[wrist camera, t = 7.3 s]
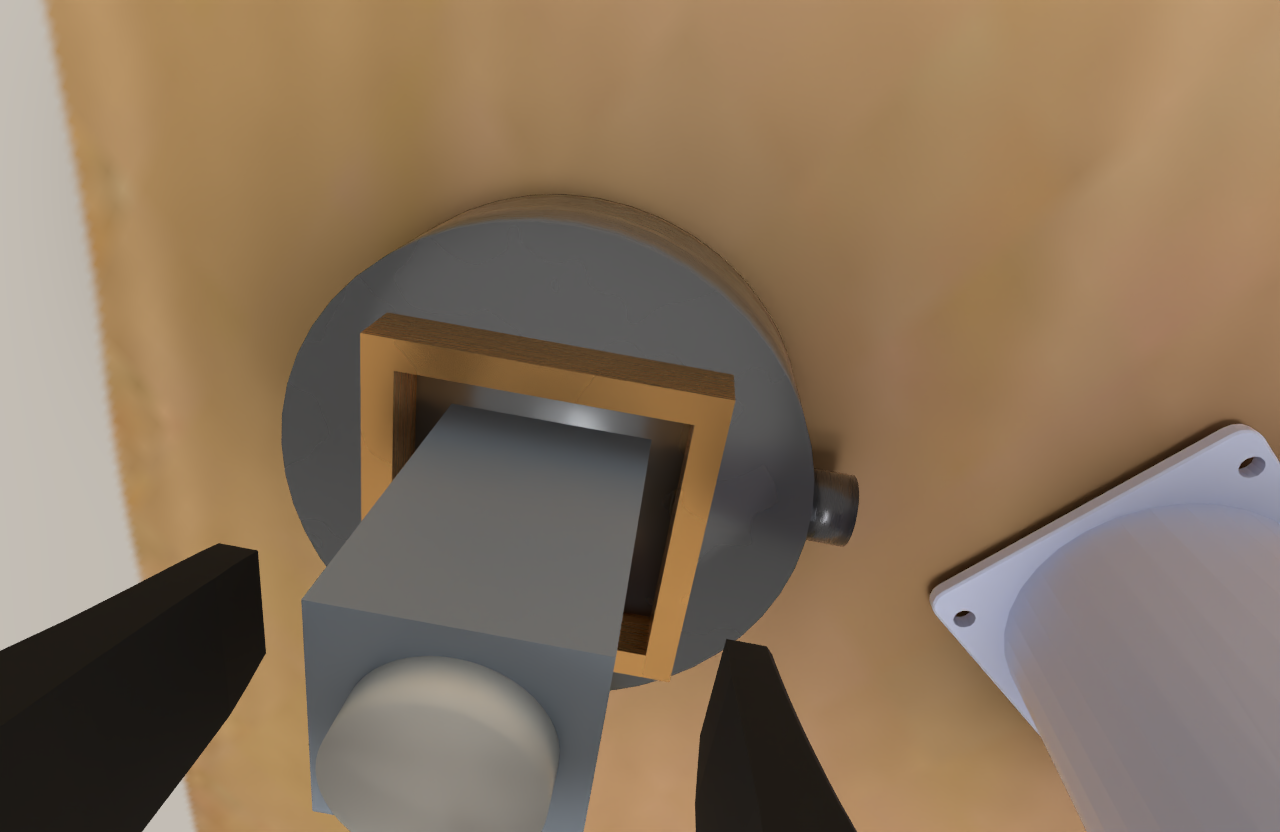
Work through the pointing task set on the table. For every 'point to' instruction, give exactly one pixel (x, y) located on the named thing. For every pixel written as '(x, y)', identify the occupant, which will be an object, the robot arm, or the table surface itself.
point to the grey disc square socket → (579, 400)
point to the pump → (474, 630)
